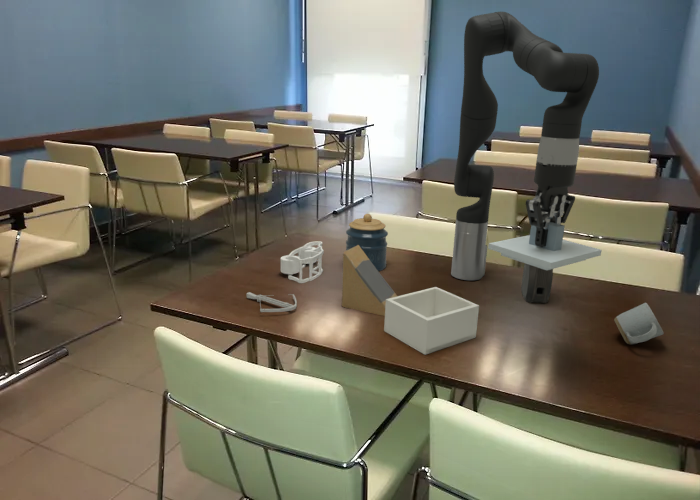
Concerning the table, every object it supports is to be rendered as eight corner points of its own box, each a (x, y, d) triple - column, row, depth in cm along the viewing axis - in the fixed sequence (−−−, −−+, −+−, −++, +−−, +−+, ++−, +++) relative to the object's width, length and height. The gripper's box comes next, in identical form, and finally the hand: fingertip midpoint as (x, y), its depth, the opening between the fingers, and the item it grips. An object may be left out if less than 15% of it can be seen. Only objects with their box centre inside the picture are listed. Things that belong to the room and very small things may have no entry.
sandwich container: (395, 319, 135) (398, 262, 131) (341, 306, 142) (342, 251, 137) (408, 308, 142) (412, 253, 138) (356, 296, 149) (358, 244, 145)
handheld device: (526, 307, 145) (539, 216, 138) (514, 287, 159) (524, 203, 152) (549, 308, 144) (563, 217, 137) (535, 288, 159) (547, 204, 152)
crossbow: (309, 304, 143) (309, 297, 142) (277, 320, 133) (277, 312, 132) (264, 290, 152) (264, 284, 151) (230, 304, 141) (230, 297, 141)
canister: (387, 276, 165) (390, 219, 160) (344, 274, 166) (346, 218, 160) (385, 262, 178) (387, 209, 173) (345, 261, 178) (347, 208, 173)
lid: (537, 243, 123) (542, 211, 121) (599, 261, 112) (605, 226, 110) (487, 254, 114) (491, 219, 112) (549, 275, 102) (555, 237, 100)
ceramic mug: (626, 345, 128) (611, 315, 130) (663, 333, 125) (647, 302, 127) (627, 347, 119) (611, 314, 121) (666, 334, 116) (649, 300, 118)
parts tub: (433, 316, 137) (435, 286, 135) (475, 337, 126) (479, 305, 124) (384, 330, 128) (385, 299, 126) (425, 354, 117) (427, 320, 115)
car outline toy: (305, 260, 178) (306, 239, 176) (336, 265, 174) (337, 243, 172) (274, 279, 160) (273, 255, 158) (307, 285, 156) (307, 261, 154)
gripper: (561, 156, 114) (549, 236, 119) (518, 160, 106) (508, 245, 111) (594, 161, 108) (580, 244, 113) (551, 165, 100) (539, 254, 105)
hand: (544, 244), depth 112 cm, fingers closed on lid, 2 cm apart
